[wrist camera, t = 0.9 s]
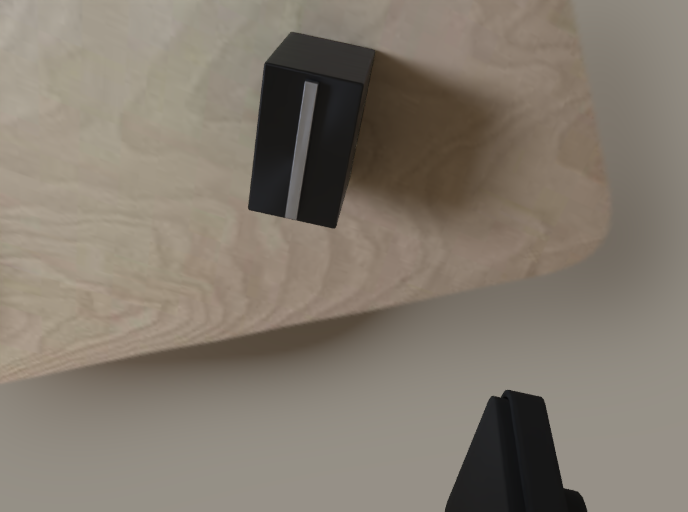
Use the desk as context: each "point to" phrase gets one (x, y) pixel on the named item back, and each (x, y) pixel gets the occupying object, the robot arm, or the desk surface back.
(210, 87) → the desk surface
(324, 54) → the clip
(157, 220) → the desk surface
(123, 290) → the desk surface
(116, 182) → the desk surface
